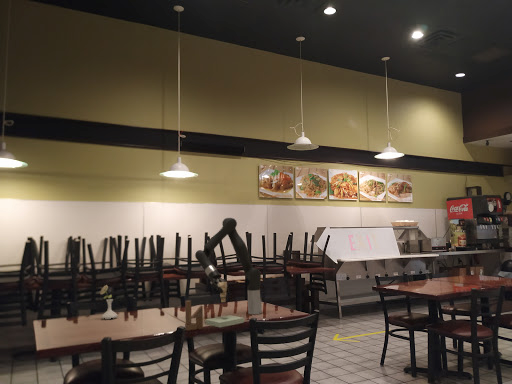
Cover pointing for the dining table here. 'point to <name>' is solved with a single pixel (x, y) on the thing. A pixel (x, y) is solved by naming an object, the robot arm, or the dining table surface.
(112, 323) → the dining table surface
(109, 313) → the flower in vase
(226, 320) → the sage board
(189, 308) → the brown wooden bracket
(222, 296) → the beech peg
